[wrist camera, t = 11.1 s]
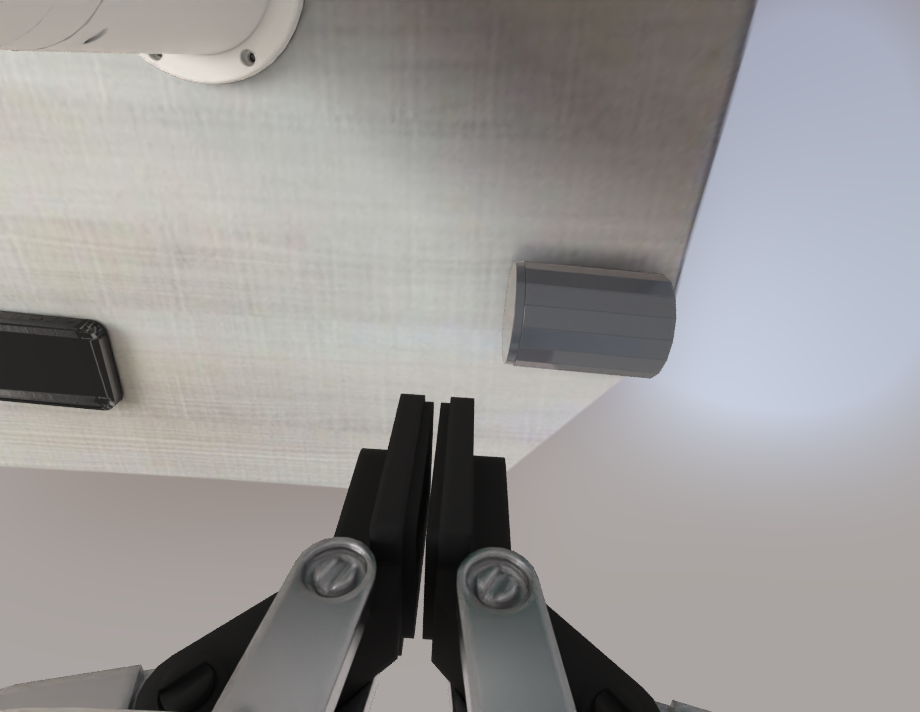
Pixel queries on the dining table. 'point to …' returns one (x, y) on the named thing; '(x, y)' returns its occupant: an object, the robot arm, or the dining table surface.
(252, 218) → the dining table surface
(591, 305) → the cup
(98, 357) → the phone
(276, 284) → the dining table surface
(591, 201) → the dining table surface
